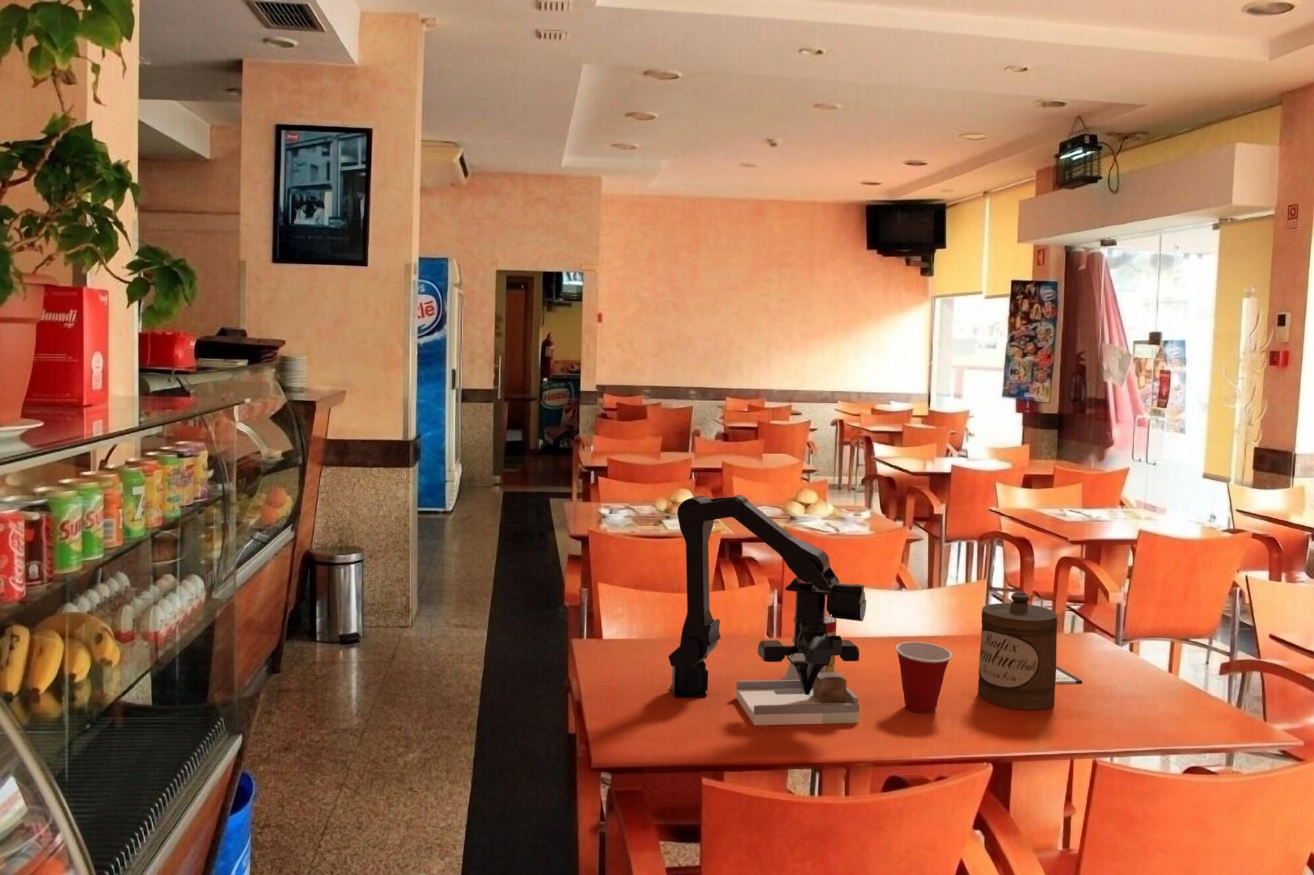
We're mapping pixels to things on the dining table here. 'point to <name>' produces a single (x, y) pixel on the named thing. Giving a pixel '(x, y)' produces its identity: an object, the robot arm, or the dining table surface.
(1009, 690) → the wooden container
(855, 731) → the dining table surface
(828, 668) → the canned food
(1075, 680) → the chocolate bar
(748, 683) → the box
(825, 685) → the walnut block
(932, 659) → the plastic cup
